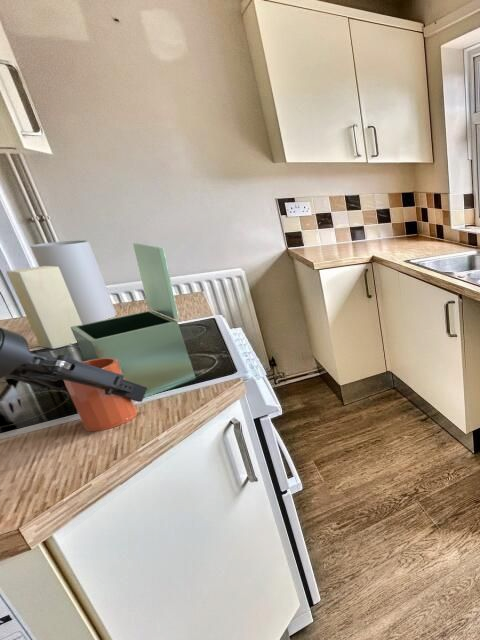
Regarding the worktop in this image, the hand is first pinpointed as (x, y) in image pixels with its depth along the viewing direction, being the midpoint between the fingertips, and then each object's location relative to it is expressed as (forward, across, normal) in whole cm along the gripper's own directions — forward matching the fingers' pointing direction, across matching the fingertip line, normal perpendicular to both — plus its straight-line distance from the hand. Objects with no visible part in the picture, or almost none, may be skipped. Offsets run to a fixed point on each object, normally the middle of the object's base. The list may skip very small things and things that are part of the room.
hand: (122, 394), depth 80 cm
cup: (0, 0, -5) cm, 5 cm away
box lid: (-1, -4, +25) cm, 25 cm away
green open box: (+10, -7, +5) cm, 14 cm away
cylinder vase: (+40, -67, +35) cm, 86 cm away
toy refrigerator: (+27, -55, +22) cm, 65 cm away
